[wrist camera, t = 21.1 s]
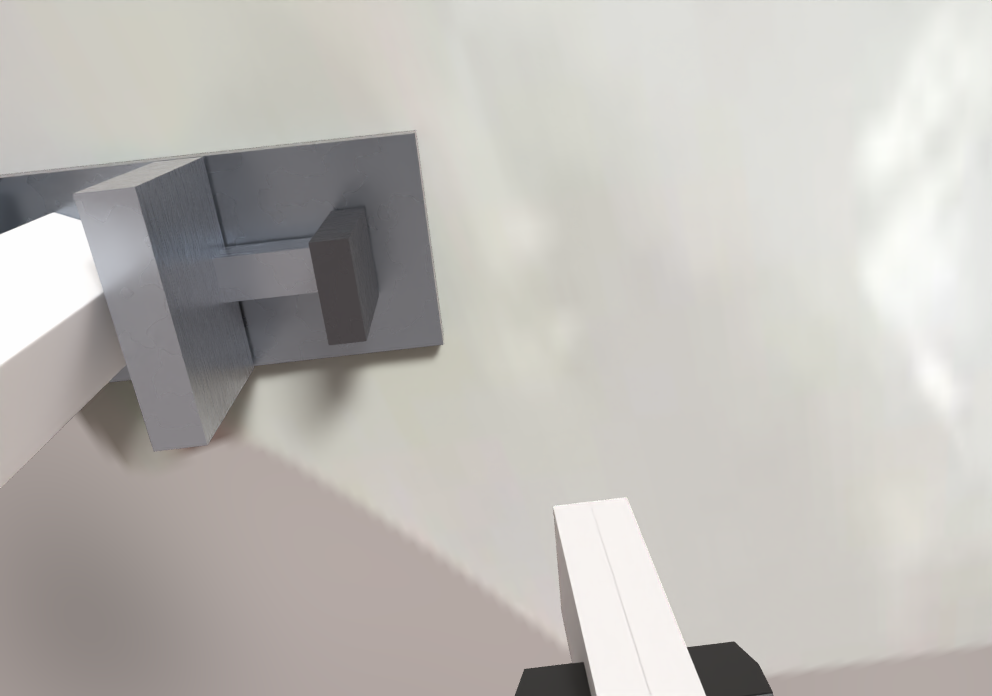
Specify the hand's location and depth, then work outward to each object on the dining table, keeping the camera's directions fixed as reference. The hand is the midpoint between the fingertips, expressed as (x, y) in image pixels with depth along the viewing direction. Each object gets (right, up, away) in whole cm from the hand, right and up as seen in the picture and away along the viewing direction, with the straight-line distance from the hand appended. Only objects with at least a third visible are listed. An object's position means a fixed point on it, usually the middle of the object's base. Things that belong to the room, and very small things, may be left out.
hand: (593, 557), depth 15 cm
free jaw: (-14, +9, +25) cm, 30 cm away
